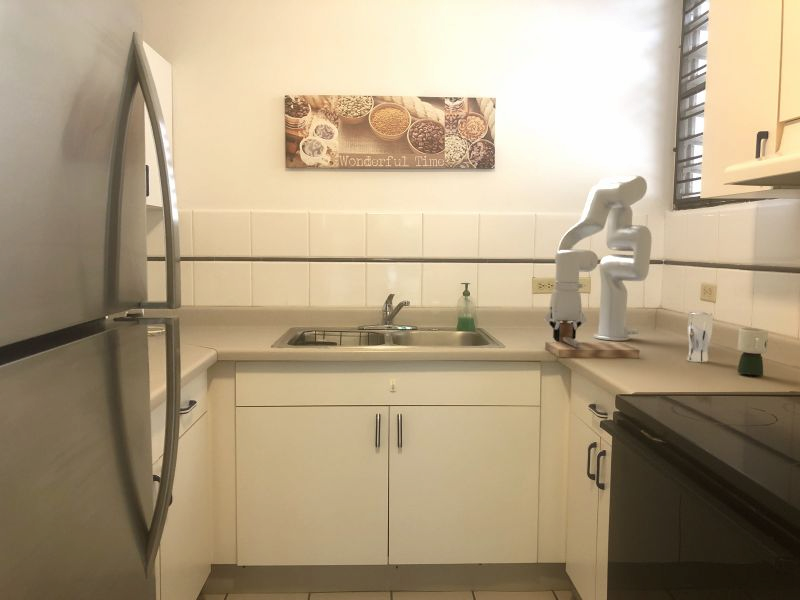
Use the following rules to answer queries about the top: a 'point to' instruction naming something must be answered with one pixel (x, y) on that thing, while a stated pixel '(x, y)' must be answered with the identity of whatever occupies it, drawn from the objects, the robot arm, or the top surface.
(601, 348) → the oak board
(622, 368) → the top surface
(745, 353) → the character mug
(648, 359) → the top surface
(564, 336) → the marking gauge
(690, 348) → the beer glass
